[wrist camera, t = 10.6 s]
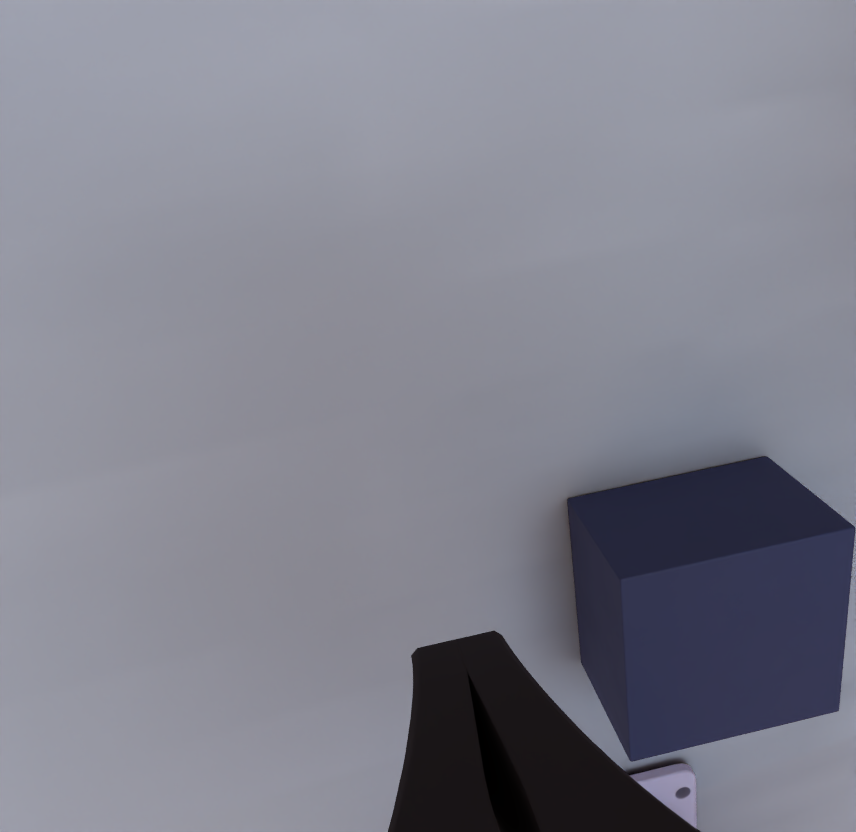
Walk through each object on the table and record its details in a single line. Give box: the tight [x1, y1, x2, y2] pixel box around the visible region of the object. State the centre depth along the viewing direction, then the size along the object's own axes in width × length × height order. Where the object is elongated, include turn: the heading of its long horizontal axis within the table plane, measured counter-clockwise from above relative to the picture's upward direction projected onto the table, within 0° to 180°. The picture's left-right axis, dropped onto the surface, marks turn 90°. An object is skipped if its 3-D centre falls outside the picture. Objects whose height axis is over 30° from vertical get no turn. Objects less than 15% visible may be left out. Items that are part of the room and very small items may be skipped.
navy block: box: [568, 456, 855, 761], centre depth 22 cm, size 6×6×4 cm
